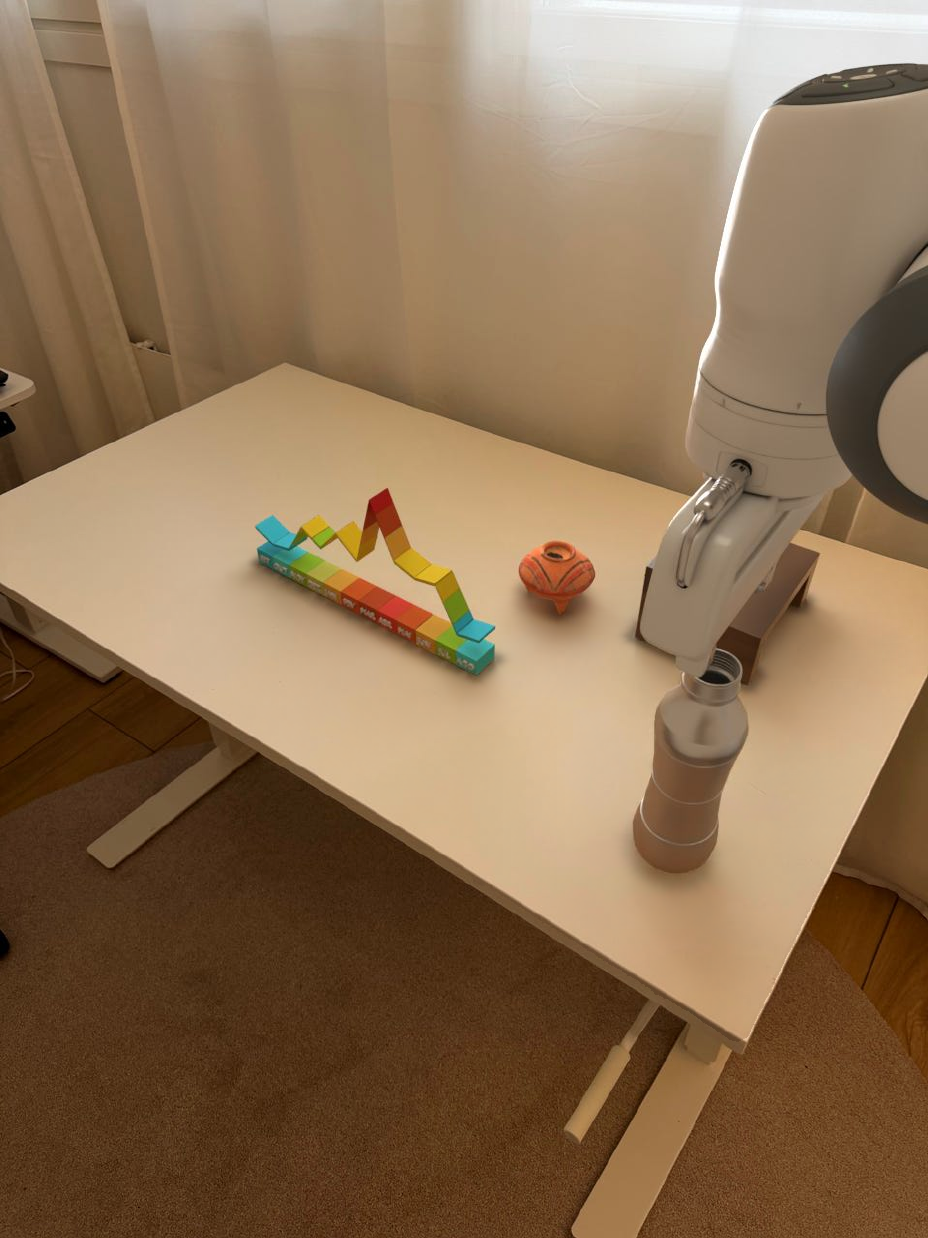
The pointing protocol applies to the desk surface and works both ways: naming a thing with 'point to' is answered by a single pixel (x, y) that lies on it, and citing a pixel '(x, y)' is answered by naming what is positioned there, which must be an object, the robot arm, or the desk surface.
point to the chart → (374, 603)
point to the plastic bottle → (691, 766)
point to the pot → (556, 572)
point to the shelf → (759, 607)
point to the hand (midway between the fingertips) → (724, 624)
